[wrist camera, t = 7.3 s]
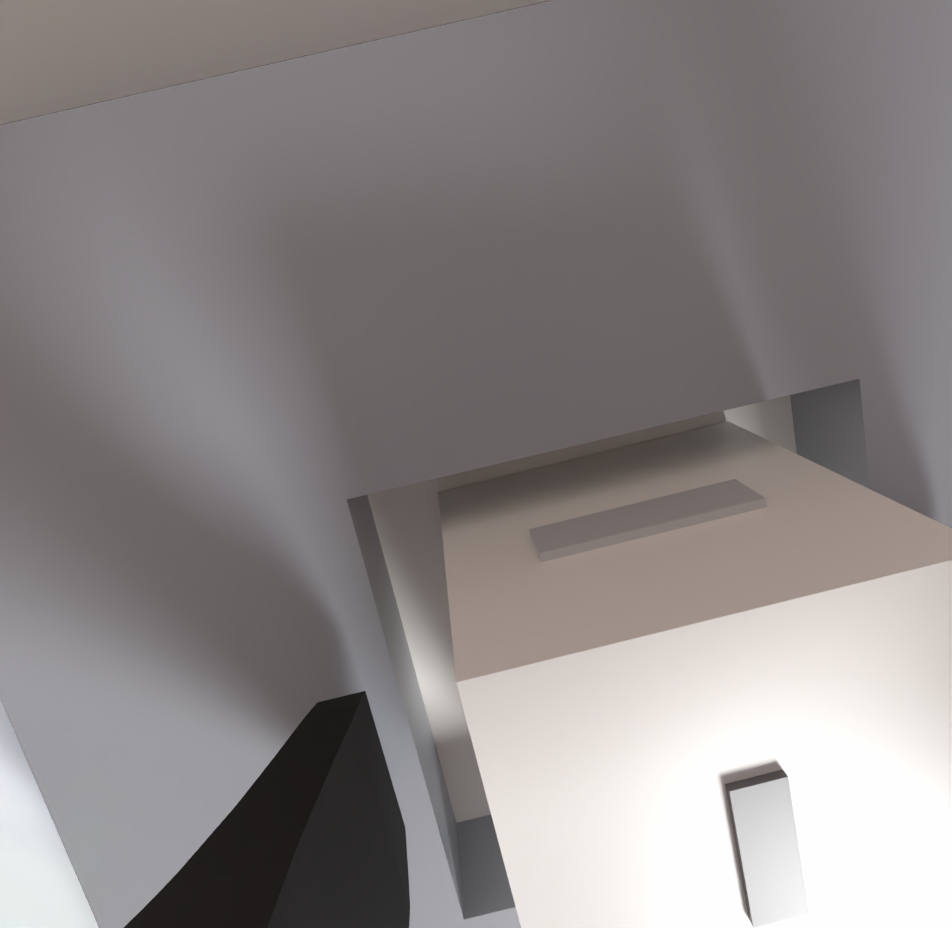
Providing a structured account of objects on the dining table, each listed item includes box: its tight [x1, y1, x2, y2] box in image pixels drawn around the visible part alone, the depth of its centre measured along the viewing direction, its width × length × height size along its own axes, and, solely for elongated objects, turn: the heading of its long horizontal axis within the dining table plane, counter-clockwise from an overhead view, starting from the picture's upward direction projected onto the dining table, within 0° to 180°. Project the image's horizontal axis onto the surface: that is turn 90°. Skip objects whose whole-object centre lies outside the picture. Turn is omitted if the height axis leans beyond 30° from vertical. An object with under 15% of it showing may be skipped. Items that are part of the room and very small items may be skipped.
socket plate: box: [0, 0, 952, 928], centre depth 12 cm, size 16×16×2 cm
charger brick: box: [438, 421, 952, 928], centre depth 10 cm, size 4×4×6 cm
